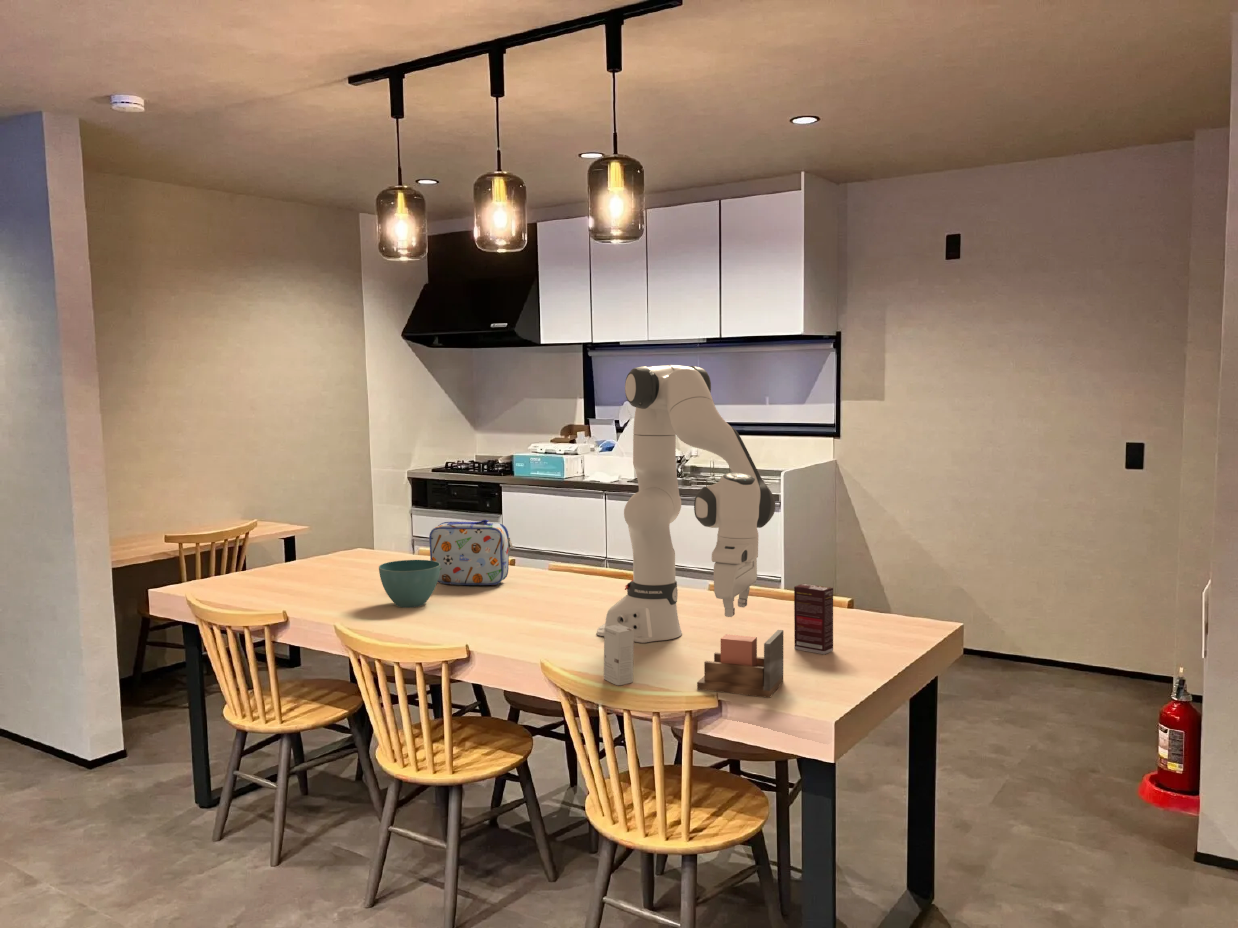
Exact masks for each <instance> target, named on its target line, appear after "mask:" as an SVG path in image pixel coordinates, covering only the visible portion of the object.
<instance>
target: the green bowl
mask: <svg viewBox="0 0 1238 928" xmlns="http://www.w3.org/2000/svg"><path fill="white" fill-rule="evenodd" d="M378 572H379V573H378V574H379V578H380V581H381V585H382V587H383V589H384V591H385V593H386V595H387V596H388V597H389V599H390V600H391V601H392V603H393V604H394V605H396V607H399V608H406V609H407V608H408V609H409V608H418V607H422V606H424V605H425V604H426V603H427V602H428V600H430V598H431V596H432V594H433V593H434V591H435V589H436V586H437V584H438V582H437V581H438V578H439V573H440V563H439V562H436V561H430V560H429V559H402V560H395V561H394V560H393V561H388V562H384V563H381V564H380V565H379V566H378Z"/></svg>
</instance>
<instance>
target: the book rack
mask: <svg viewBox="0 0 1238 928" xmlns="http://www.w3.org/2000/svg"><path fill="white" fill-rule="evenodd" d="M713 656H714V657H713V660H714V661H711V660H705V661H704V665H703V667H704V668H703V671H704V675H703V676H702V677H701V678H700V679H699V680H698V681H697V682H696V689H697V690H701V691H710V692H711V691H712V692H719V693H729V694H736V695H743V696H744V695H745V696H752V697H761V698H767V699H768V698H769V699H770V698H771V697H772V696H773V695H774V693H775V692H776V691H777V690H778V689H779V687H780V686H781V685H782V684H783V683H784V630H783V629H777V630H776V631H775V632H774V633H773V634H772V635H771V636H770V637H769V638H768V639H767V640H766V641H765V642H764V643H763V657H761V656H757V666H749V665H739V664H730V663H721V652H714V653H713Z"/></svg>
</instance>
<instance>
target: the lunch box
mask: <svg viewBox="0 0 1238 928" xmlns="http://www.w3.org/2000/svg"><path fill="white" fill-rule="evenodd" d="M489 521H490V520H488V519H483V520H480V521H444V522H441V523H440V524H438V525H437V526H435V527H433V528H432V529H431V530H430V532H429V537H428V542H429V543H428V544H429V557H430V558H429V559H430V561H436V562H439V563H440V573H439V578H438V581H437V583H440V584H444V585H457V586H490V585H491V586H493V585H499V584H500V583H501V582H502V581H504V580H505V579H507V577H508V574H509V563H510V562H509V559H510V556H509V553H510V552H511V549H512V548H513V547H514V546H513V542H512V540H511V537H510V534H509V531H508V529H507V527H506V526H505V525H504V524H502V523H499V522H489Z"/></svg>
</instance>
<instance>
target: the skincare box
mask: <svg viewBox="0 0 1238 928" xmlns="http://www.w3.org/2000/svg"><path fill="white" fill-rule="evenodd" d="M603 638H604V639H603V641H604V642H603V650H604V651H603V679H604V680H605V681H607V682H608V683H611V684H613V685H616V686H623V685H628V684H630V683H633V682H634V644H635V641H634V630H632V629H630V628H628V627H626V626H622V625H619V624H617V625H612V626H607V627H605V628H604V636H603Z"/></svg>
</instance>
